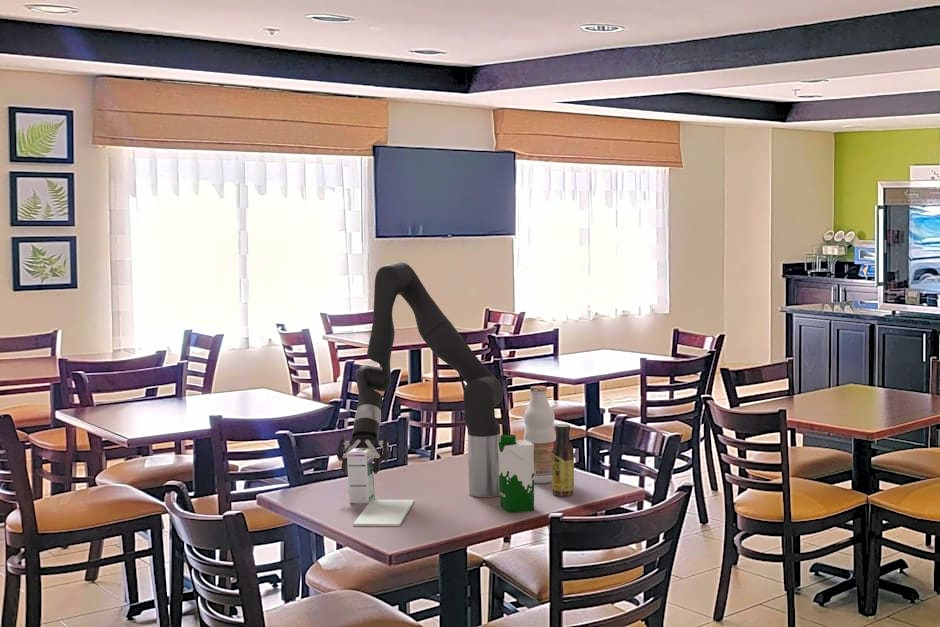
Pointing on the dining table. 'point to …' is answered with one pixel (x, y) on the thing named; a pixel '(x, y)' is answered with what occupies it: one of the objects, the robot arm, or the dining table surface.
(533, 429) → the fruit juice
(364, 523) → the mat
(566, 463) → the sauce bottle
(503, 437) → the milk carton
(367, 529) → the dining table surface
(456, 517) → the dining table surface
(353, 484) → the syrup box
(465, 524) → the dining table surface
